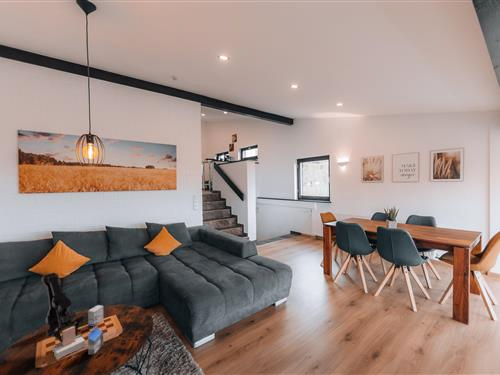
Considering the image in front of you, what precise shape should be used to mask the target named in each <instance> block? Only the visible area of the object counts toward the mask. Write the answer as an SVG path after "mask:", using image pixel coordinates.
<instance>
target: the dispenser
mask: <svg viewBox="0 0 500 375" xmlns="http://www.w3.org/2000/svg"><path fill="white" fill-rule="evenodd" d="M84 346H85V347H86V340H85V338H83V336H82V335H81V334H79V335H77V336H75V342H73V343H71V344H69V345H66V346H64V347H62V343H61V342H60V343H59V344H57V345H54V346H52V353H53V352H54V354H55V356H56V358H55V360H56V361H58V360H60V358H61V359H62V357H63V356H65V355H67V354H69V353H71V354H73V353H75V352H77V351H79V350H81V349H83V348H85V347H84ZM82 347H83V348H82ZM74 351H75V352H74ZM72 352H73V353H72ZM69 355H70V354H69ZM55 356H54V357H55ZM67 356H68V355H67ZM65 357H66V356H65ZM63 358H64V357H63Z"/></svg>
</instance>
